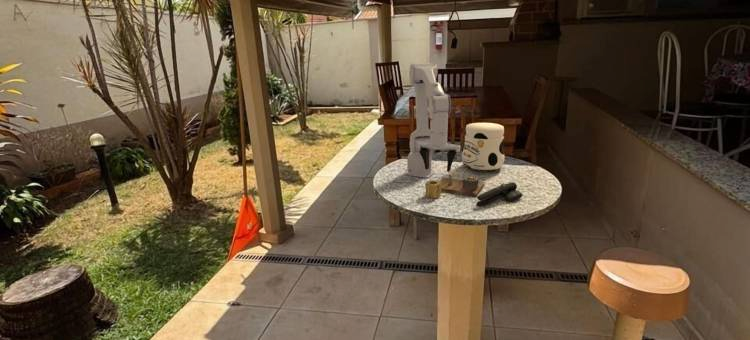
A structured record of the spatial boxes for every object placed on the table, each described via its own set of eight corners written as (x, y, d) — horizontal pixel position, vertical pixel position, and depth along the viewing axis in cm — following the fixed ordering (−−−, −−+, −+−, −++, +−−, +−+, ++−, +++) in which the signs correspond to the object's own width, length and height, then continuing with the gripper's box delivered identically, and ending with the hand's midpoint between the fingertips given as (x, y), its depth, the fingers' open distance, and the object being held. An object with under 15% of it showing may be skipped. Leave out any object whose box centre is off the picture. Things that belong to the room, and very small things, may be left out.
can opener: (509, 193, 138) (510, 178, 136) (524, 199, 132) (526, 184, 130) (469, 202, 131) (470, 187, 129) (483, 210, 125) (484, 194, 123)
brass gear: (423, 197, 136) (423, 184, 134) (428, 192, 140) (429, 179, 138) (437, 199, 133) (437, 186, 132) (442, 194, 138) (442, 181, 136)
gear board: (433, 189, 142) (433, 176, 141) (443, 180, 151) (443, 167, 150) (476, 196, 135) (477, 182, 133) (484, 186, 144) (485, 173, 142)
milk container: (455, 170, 162) (457, 128, 156) (469, 159, 176) (471, 120, 170) (497, 177, 153) (500, 132, 148) (507, 165, 167) (511, 124, 161)
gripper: (414, 132, 129) (414, 171, 134) (457, 135, 124) (455, 175, 128) (421, 128, 136) (420, 165, 140) (462, 131, 130) (460, 169, 134)
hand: (437, 169), depth 134 cm, fingers open, 7 cm apart
